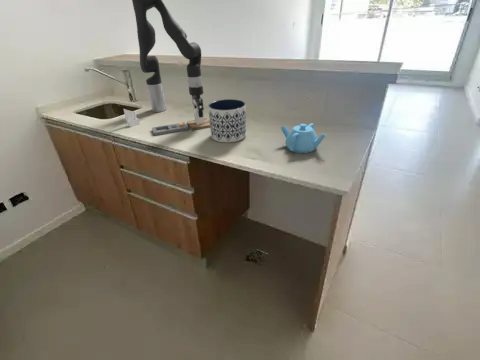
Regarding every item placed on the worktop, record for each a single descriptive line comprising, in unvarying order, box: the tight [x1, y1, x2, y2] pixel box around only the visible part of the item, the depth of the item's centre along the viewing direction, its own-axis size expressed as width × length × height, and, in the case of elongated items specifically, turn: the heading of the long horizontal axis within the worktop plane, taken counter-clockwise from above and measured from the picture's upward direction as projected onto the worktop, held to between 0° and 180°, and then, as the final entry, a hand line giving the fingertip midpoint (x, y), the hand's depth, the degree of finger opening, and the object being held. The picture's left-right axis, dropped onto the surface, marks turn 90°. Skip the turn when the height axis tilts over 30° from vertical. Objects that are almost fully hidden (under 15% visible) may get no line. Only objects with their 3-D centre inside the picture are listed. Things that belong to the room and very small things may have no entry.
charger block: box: [192, 107, 205, 125], centre depth 152 cm, size 4×4×9 cm
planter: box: [207, 98, 247, 143], centre depth 135 cm, size 18×18×16 cm
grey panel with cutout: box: [151, 122, 189, 136], centre depth 149 cm, size 9×18×2 cm, turn 113°
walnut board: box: [186, 117, 210, 131], centre depth 154 cm, size 12×12×1 cm
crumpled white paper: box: [123, 108, 141, 128], centre depth 156 cm, size 4×10×9 cm, turn 143°
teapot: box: [280, 122, 327, 154], centre depth 122 cm, size 15×17×11 cm
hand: (198, 114), depth 152 cm, fingers open, 8 cm apart
